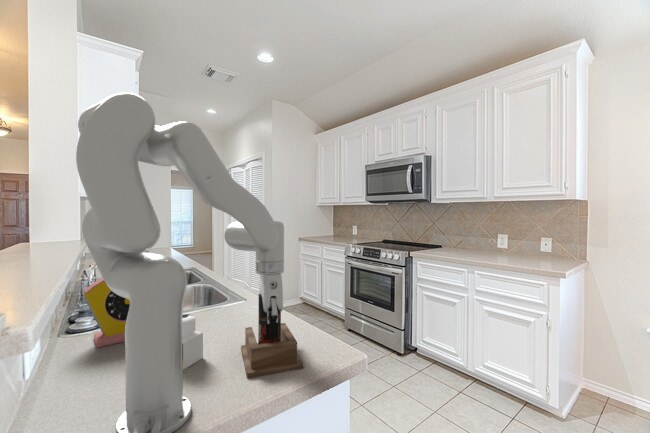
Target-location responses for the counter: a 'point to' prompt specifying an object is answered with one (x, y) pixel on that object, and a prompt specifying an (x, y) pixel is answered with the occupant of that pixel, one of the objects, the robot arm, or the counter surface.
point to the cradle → (270, 354)
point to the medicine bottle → (190, 342)
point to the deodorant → (262, 325)
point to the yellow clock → (107, 313)
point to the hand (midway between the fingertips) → (269, 332)
